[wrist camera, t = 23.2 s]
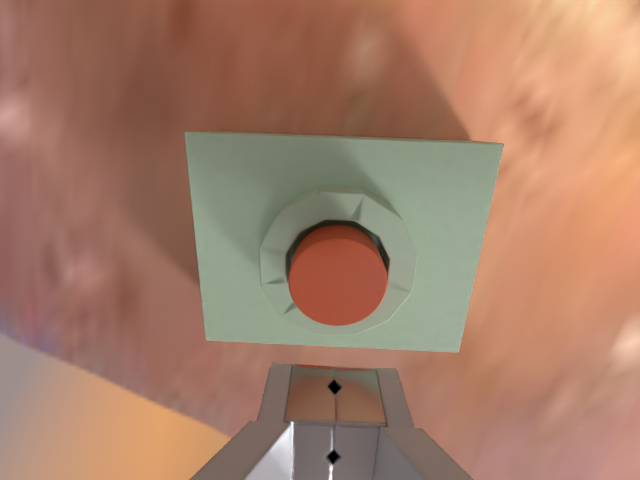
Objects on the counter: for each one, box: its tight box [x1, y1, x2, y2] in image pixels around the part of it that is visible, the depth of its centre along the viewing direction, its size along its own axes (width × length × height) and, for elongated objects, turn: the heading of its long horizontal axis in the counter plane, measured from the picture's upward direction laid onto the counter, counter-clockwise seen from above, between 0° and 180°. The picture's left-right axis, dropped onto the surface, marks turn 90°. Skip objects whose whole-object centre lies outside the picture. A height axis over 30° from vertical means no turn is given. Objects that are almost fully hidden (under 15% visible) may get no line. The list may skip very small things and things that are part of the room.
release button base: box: [184, 131, 504, 353], centre depth 16 cm, size 14×11×5 cm
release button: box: [288, 225, 388, 326], centre depth 14 cm, size 4×4×2 cm
